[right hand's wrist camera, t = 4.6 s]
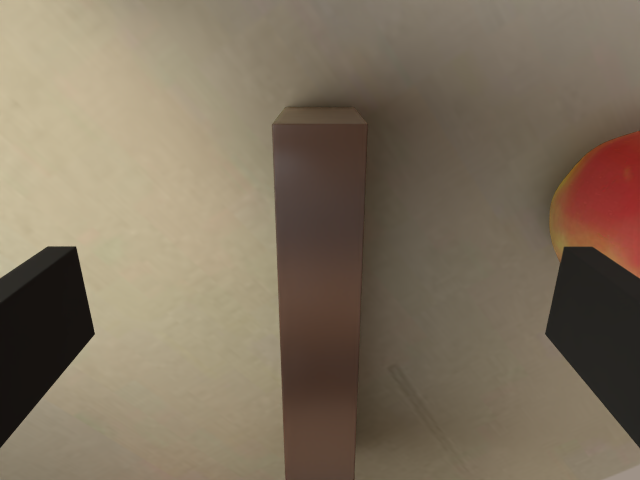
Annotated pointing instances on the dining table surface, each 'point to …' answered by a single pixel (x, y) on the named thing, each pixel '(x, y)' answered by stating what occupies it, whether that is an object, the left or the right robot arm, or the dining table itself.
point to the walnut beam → (319, 284)
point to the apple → (602, 203)
